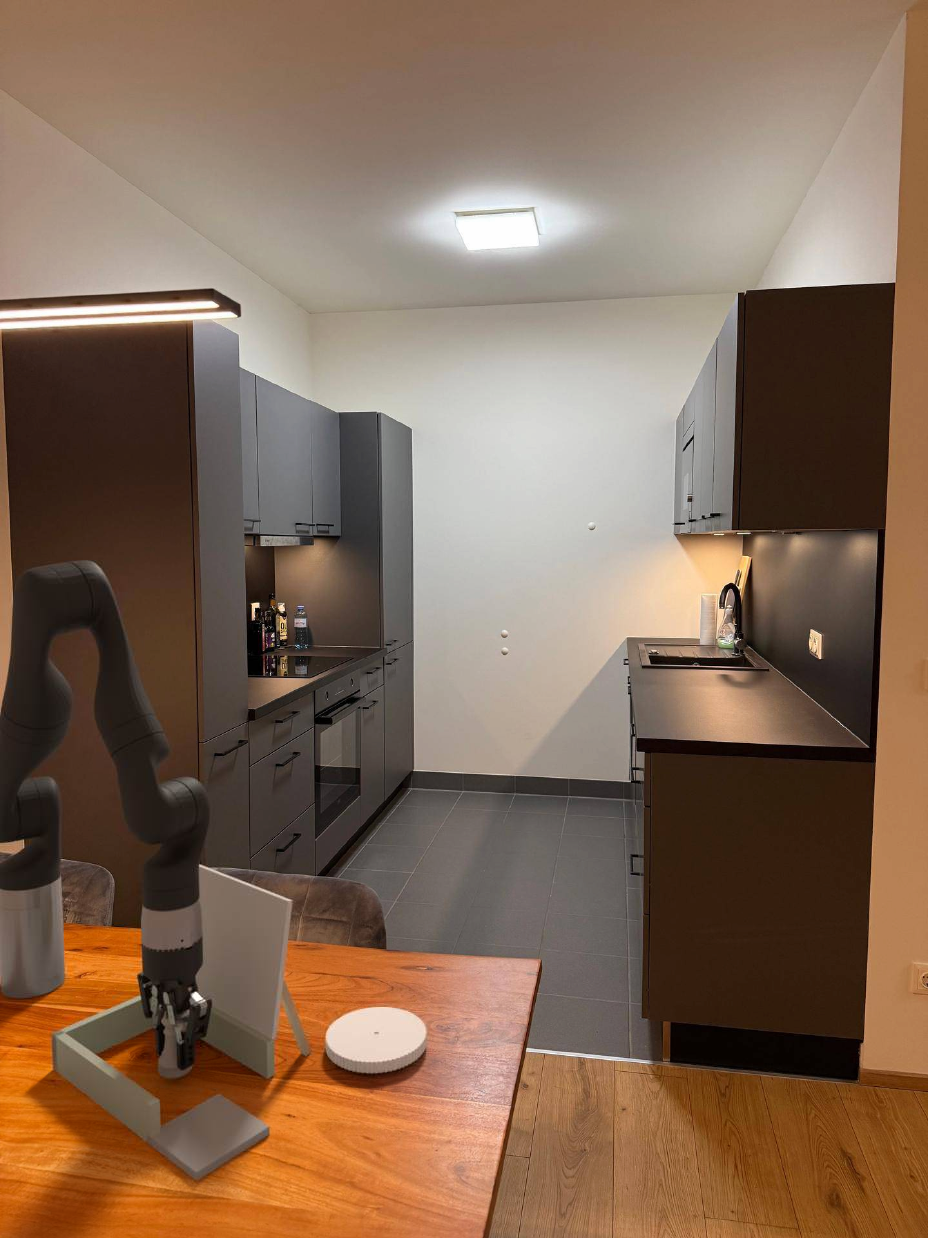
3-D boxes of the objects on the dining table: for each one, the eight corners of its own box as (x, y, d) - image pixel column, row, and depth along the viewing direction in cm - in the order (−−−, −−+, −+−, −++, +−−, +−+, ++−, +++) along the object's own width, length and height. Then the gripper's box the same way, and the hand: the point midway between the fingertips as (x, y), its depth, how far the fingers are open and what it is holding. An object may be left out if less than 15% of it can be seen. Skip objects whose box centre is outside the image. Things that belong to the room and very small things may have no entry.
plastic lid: (330, 1087, 115) (329, 1069, 115) (322, 1030, 129) (321, 1013, 128) (435, 1072, 118) (435, 1054, 118) (417, 1018, 132) (416, 1001, 132)
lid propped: (169, 983, 132) (165, 866, 130) (191, 973, 135) (188, 859, 133) (271, 1040, 117) (269, 909, 115) (295, 1028, 120) (292, 899, 118)
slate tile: (147, 1142, 104) (146, 1134, 104) (219, 1101, 112) (219, 1093, 112) (196, 1181, 98) (196, 1172, 98) (269, 1134, 105) (269, 1126, 105)
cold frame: (53, 1070, 119) (49, 981, 118) (209, 998, 137) (207, 921, 136) (151, 1147, 103) (148, 1046, 102) (312, 1054, 122) (310, 968, 121)
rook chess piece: (200, 1064, 118) (199, 1006, 117) (179, 1083, 114) (177, 1024, 113) (172, 1057, 119) (170, 1000, 118) (150, 1076, 115) (148, 1017, 114)
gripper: (115, 928, 116) (119, 1052, 118) (178, 961, 107) (181, 1095, 109) (166, 909, 122) (169, 1028, 124) (230, 940, 113) (232, 1067, 115)
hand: (175, 1059), depth 116 cm, fingers closed on rook chess piece, 4 cm apart
